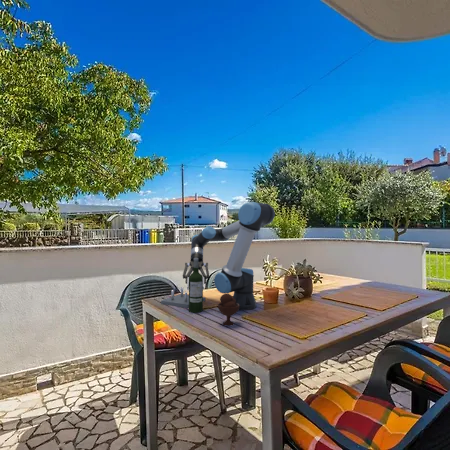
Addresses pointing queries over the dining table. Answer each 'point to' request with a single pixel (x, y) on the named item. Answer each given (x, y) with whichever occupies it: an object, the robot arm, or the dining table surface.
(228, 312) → the ice cream bowl
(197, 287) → the wine bottle
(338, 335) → the dining table surface
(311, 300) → the dining table surface
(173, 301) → the peg stand
